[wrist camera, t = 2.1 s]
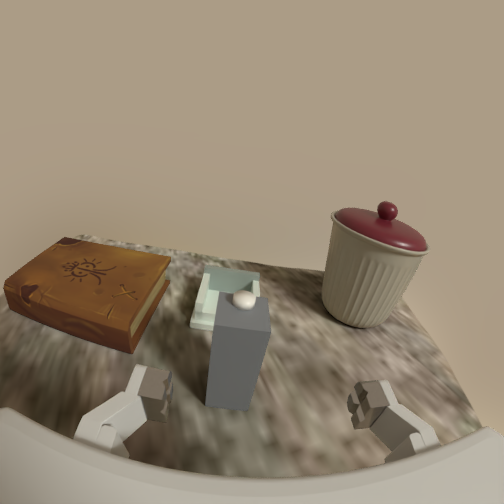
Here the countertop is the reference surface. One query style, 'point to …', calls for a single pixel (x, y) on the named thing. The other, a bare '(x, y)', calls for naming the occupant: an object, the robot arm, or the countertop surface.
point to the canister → (369, 264)
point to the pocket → (210, 288)
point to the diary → (91, 291)
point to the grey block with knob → (237, 349)
